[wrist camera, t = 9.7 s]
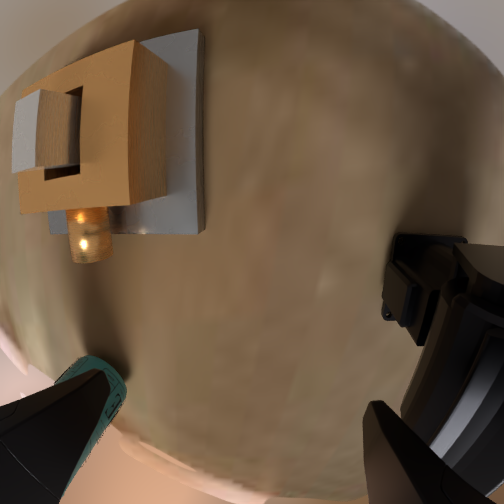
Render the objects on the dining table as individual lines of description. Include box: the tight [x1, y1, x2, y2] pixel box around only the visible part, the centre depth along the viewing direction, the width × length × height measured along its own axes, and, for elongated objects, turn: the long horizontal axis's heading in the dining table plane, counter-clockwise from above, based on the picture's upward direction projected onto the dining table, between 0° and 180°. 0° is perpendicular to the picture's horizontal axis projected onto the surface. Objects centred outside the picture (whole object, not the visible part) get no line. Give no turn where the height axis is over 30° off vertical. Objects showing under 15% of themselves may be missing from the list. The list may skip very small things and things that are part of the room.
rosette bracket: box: [18, 29, 205, 263], centre depth 15 cm, size 14×15×6 cm
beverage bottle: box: [54, 355, 127, 497], centre depth 15 cm, size 6×7×20 cm
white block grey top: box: [12, 89, 82, 173], centre depth 13 cm, size 2×4×9 cm, turn 179°
